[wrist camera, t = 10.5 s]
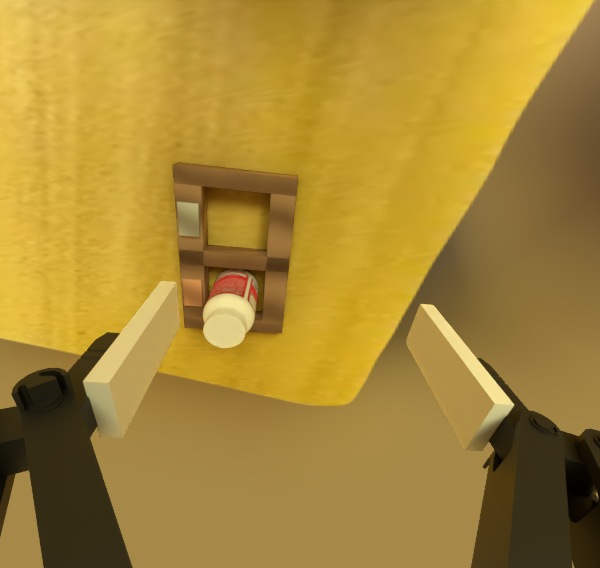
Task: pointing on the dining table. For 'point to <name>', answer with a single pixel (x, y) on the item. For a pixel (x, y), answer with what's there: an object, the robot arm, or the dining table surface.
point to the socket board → (201, 255)
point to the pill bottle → (230, 308)
